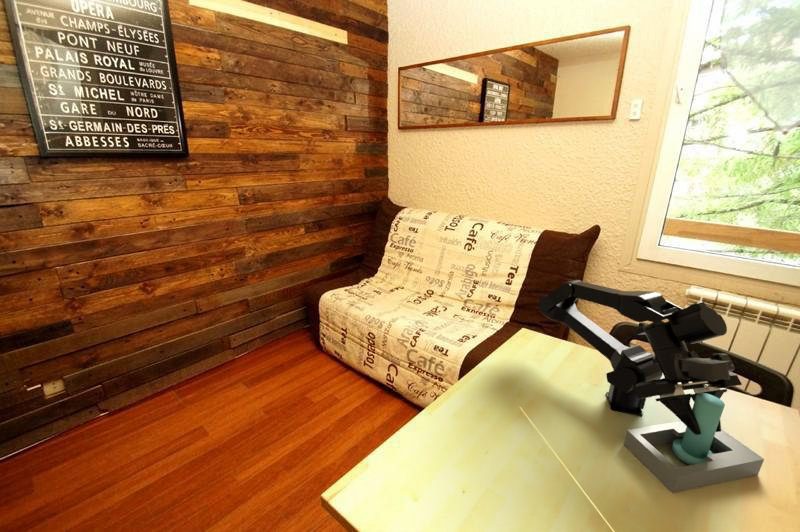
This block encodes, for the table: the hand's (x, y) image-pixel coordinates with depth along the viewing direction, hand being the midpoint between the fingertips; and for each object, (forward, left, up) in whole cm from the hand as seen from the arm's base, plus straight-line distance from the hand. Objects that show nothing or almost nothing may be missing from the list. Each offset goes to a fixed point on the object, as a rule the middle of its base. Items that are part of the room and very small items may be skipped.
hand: (708, 433), depth 66 cm
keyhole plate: (-1, +1, -8) cm, 8 cm away
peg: (-1, +1, -7) cm, 7 cm away
